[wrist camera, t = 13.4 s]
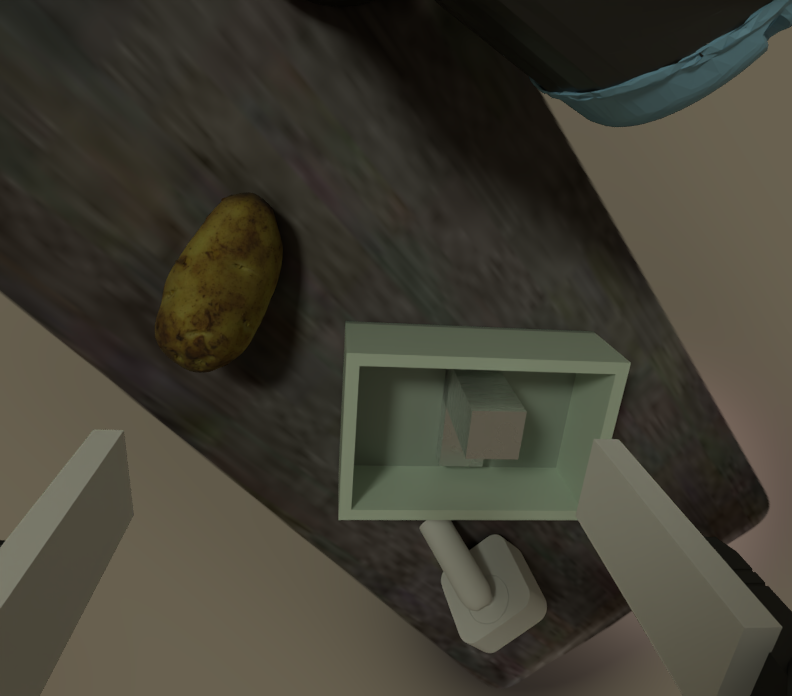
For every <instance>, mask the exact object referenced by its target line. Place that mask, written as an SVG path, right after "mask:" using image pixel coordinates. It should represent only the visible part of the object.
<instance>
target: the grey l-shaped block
mask: <svg viewBox="0 0 792 696" xmlns="http://www.w3.org/2000/svg"><path fill="white" fill-rule="evenodd" d="M526 414H527V411H526V410H525V408H524V407H523V405H522V404H521V402H520V401H519V399H518V397H517V396H516V394H515V393H514V391H513V390H512V388H511V386H510V385H509V383H508V382H507V380H506V379H505V377H504V376H503V374H502V372H501V371H500V370H470V369H446V372H445V380H444V388H443V397H442V405H441V414H440V422H439V431H438V439H437V448H436V457H437V460H438V464H439V466H465V467H482V465H483V459H517V460H518V458H519V452H520V447H521V441H522V436H523V430H524V425H525V419H526Z"/></svg>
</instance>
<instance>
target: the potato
mask: <svg viewBox="0 0 792 696" xmlns="http://www.w3.org/2000/svg"><path fill="white" fill-rule="evenodd" d="M282 256H283V246H282V240H281V237H280V233H279V230H278V226H277V222H276V218H275V215H274V212H273V210H272V208H271V207H270V205H269V204H268V203H267V202H265V200H264V199H262V198H260V197H259V196H258V195H256V194H254V193H239V194H236V195H230V196H228V197H226V198H223V199H222V202H221V203H220V204H219V205H218V206H217V207H216V208H215V209H214V210H213V211H212V212H211V213H210V214H209V215H208V217H207V218H206V220H205V222H204V223H203V225H202V226H201V227H200V229H199V230H198V231H197V233H196V234H195V236H194V237H193V238H192V239H191V241H190V242H189V244H188V245H187V246H186V248H185V249H184V251H183V252H182V254H181V256H180V257H179V259H178V260H177V261H176V263H175V265H174V266H173V268H172V269H171V271H170V273H169V275H168V277H167V280H166V283H165V286H164V291H163V297H162V303H161V306H160V309H159V312H158V315H157V318H156V323H155V339H156V340H157V342H158V345H159V346H160V348H161V350H162V351H163V352H164V353H165V354H166V355H167V356H168V357H169V358H170V359H171V360H172V361H174V362H175V363H177V364H178V365H180V366H181V367H183V368H184V369H187V370H189V371H193V372H210V371H213V370H215V369H217V368H220V367H223V366H226V365H228V363H230V362H231V361H232V360H234V359H235V358H237V357H238V356H239V355H240V354H242V353H243V352H244V350H245V349H246V348H247V347H248V345H249V344H250V342H251V340H252V338H253V336H254V335H255V333H256V331H257V329H258V327H259V325H260V324H261V322H262V320H263V318H264V315H265V313H266V310H267V307H268V305H269V302H270V299H271V297H272V295H273V293H274V291H275V288H276V285H277V282H278V278H279V274H280V270H281V265H282Z"/></svg>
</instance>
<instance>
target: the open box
mask: <svg viewBox="0 0 792 696" xmlns="http://www.w3.org/2000/svg"><path fill="white" fill-rule="evenodd" d="M630 364H631V363H630V362H629V361H628V360H627V359H626V358H624V357H623V356H622V355H621V354H620V353H618V352H617V351H616V350H615V349H614V348H612V347H611V346H610V345H609V344H608V343H606V342H605V341H604V340H603V339H602V338H600V337H599V336H598V335H597V334H596V333H594V332H592V331H568V330H544V329H520V328H496V327H472V326H448V325H424V324H400V323H376V322H352V321H346V322H345V343H344V365H343V387H342V409H341V430H340V452H339V520H578V519H577V517H576V512H577V507H578V503H579V499H580V495H581V491H582V486H583V482H584V478H585V474H586V470H587V465H588V461H589V457H590V453H591V449H592V444H593V440H594V439H612V436H613V432H614V428H615V424H616V420H617V416H618V412H619V408H620V404H621V400H622V396H623V392H624V388H625V384H626V380H627V376H628V372H629V368H630ZM446 369H470V370H500V371H501V372H502V374H503V376H504V377H505V379H506V380H507V382H508V383H509V385H510V386H511V388H512V390H513V391H514V393H515V394H516V396H517V397H518V399H519V401H520V402H521V404H522V405H523V407H524V408H525V410H526V411H527V414H526V419H525V425H524V430H523V436H522V441H521V447H520V452H519V458H518V460H517V459H483V465H482V467H465V466H439V464H438V460H437V457H436V448H437V439H438V431H439V422H440V414H441V405H442V397H443V388H444V380H445V372H446Z"/></svg>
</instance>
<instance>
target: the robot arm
mask: <svg viewBox="0 0 792 696" xmlns="http://www.w3.org/2000/svg"><path fill="white" fill-rule="evenodd" d="M307 1H310V2H313V3H317V4H321V5H327V6H338V7H343V6H355V5H361V4H365V3H368V2H372V1H374V0H307ZM435 1H436V2H437V3H438V4H440V5H441V6H442V7H443V8H445V9H446V10H447V11H448V12H450V13H451V14H452V15H453V16H454V17H456V18H457V19H458V20H459V21H461V22H462V23H463V24H464V25H466V26H467V27H468V28H469V29H471V30H472V31H473V32H474V33H476V34H477V35H478V36H479V37H481V38H482V39H483V40H484V41H486V42H487V43H488V44H489V45H491V46H492V47H493V48H494V49H496V50H497V51H498V52H499V53H501V54H502V55H503V56H504V57H506V58H507V59H508V60H509V61H511V62H512V63H513V64H514V65H516V66H517V67H518V68H519V69H521V70H522V71H523V72H524V73H526V74H527V75H528V76H529V78H530V80H531V82H532V83H533V85H534V86H535V87H536V88H537V89H539V90H540V91H541V92H542V93H544V94H548V95H549V96H550V97H552V98H556V99H560V100H562V101H563V102H564V103H566V104H567V105H568V106H570V107H571V108H573V109H574V110H575V111H577V112H578V113H580V114H581V115H583V116H584V117H585V118H587V119H588V120H590V121H592V122H595V123H598V124H602V125H605V126H611V127H627V126H634V125H640V124H645V123H648V122H651V121H655V120H657V119H661V118H664V117H666V116H668V115H671V114H673V113H675V112H677V111H680V110H682V109H684V108H685V107H688V106H690V105H691V104H693V103H695V102H697V101H699V100H700V99H702V98H704V97H706V96H707V95H709V94H710V93H712V92H714V91H715V90H716V89H718V88H720V87H721V86H723V85H724V84H726V83H727V82H728V81H730V80H731V79H733V78H734V77H736V76H737V75H738V74H740V73H741V72H742V71H743V70H745V69H746V68H747V67H748V66H750V65H751V64H752V63H753V62H754V61H755V60H756V59H758V58H759V57H760V56H761V55H762V54H764V53H765V52H766V51H767V49H768V42H767V41H768V39H769V38H770V37H771V36H773V35H775V34H776V33H778V32H779V31H782V30H784V29H787V28H789V27H791V26H792V0H435ZM133 515H134V513H133V505H132V497H131V488H130V479H129V470H128V462H127V453H126V445H125V436H124V430H93V431H92V432H91V433H90V435H89V436H88V437H87V438H86V440H85V441H84V442H83V443H82V445H81V446H80V447H79V449H78V450H77V451H76V452H75V454H74V455H73V456H72V457H71V459H70V460H69V461H68V462H67V464H66V465H65V466H64V468H63V469H62V470H61V471H60V473H59V474H58V475H57V476H56V478H55V479H54V480H53V481H52V483H51V484H50V485H49V486H48V488H47V489H46V490H45V491H44V493H43V494H42V495H41V497H40V498H39V499H38V500H37V502H36V503H35V504H34V505H33V507H32V508H31V509H30V510H29V512H28V513H27V514H26V515H25V517H24V518H23V520H22V521H21V522H20V523H19V524H18V526H17V527H16V528H15V529H14V531H13V532H12V533H11V534H10V536H9V537H8V538H7V540H5V541H4V540H3V541H2V540H0V696H40V694H41V692H42V691H43V689H44V687H45V685H46V683H47V681H48V679H49V677H50V675H51V673H52V671H53V669H54V667H55V665H56V664H57V662H58V660H59V658H60V656H61V654H62V652H63V650H64V648H65V646H66V644H67V642H68V640H69V638H70V637H71V635H72V633H73V631H74V629H75V627H76V625H77V623H78V621H79V619H80V617H81V615H82V614H83V612H84V609H85V608H86V606H87V604H88V602H89V600H90V598H91V596H92V594H93V592H94V590H95V588H96V586H97V584H98V583H99V581H100V579H101V577H102V575H103V573H104V571H105V569H106V567H107V565H108V563H109V561H110V559H111V558H112V556H113V554H114V552H115V550H116V548H117V546H118V544H119V542H120V540H121V538H122V537H123V535H124V533H125V531H126V529H127V527H128V525H129V523H130V521H131V519H132V517H133ZM576 517H577V519H578V521H579V522H580V524H581V526H582V528H583V529H584V531H585V533H586V534H587V536H588V538H589V539H590V541H591V543H592V544H593V546H594V548H595V549H596V551H597V553H598V554H599V556H600V558H601V559H602V561H603V563H604V564H605V566H606V568H607V569H608V571H609V573H610V575H611V576H612V578H613V580H614V581H615V583H616V585H617V586H618V588H619V590H620V591H621V593H622V595H623V596H624V598H625V600H626V601H627V603H628V605H629V606H630V608H631V610H632V611H633V613H634V615H635V616H636V618H637V620H638V621H639V623H640V625H641V626H642V628H643V630H644V632H645V633H646V635H647V637H648V638H649V640H650V642H651V643H652V645H653V647H654V648H655V650H656V652H657V653H658V655H659V657H660V658H661V660H662V662H663V663H664V665H665V667H666V668H667V670H668V672H669V674H670V675H671V677H672V678H673V680H674V682H675V683H676V685H677V687H678V689H679V690H680V692H681V693H682V695H683V696H792V611H791V610H790V609H789V608H788V607H787V606H786V605H785V604H784V603H783V602H782V601H781V600H780V598H779V597H778V596H777V595H776V594H775V593H774V592H773V591H772V590H771V589H770V588H769V587H768V586H765V582H764V581H763V580H762V579H761V578H760V577H759V576H758V574H757V573H756V572H753V571H752V568H751V567H750V566H749V565H748V564H747V563H746V561H745V560H744V559H743V558H742V557H741V556H740V555H739V554H738V553H737V552H736V551H735V550H733V549H732V548H730V547H729V546H728V545H726V544H725V543H723V542H722V541H720V540H719V539H717V538H716V537H703V536H702V534H701V533H700V532H699V531H698V530H697V529H696V528H695V526H694V525H693V524H692V523H691V522H690V521H689V520H688V518H687V517H686V516H685V515H684V514H683V513H682V511H681V510H680V509H679V508H678V507H677V506H676V505H675V503H674V502H673V501H672V500H671V499H670V498H669V497H668V495H667V494H666V493H665V492H664V491H663V490H662V489H661V487H660V486H659V485H658V484H657V483H656V482H655V481H654V479H653V478H652V477H651V476H650V475H649V474H648V473H647V471H646V470H645V469H644V468H643V467H642V466H641V465H640V463H639V462H638V461H637V460H636V459H635V458H634V456H633V455H632V454H631V453H630V452H629V451H628V450H627V448H626V447H625V446H624V445H623V444H622V443H621V442H620V440H619V439H594V440H593V444H592V449H591V453H590V457H589V461H588V465H587V470H586V474H585V478H584V482H583V486H582V491H581V495H580V499H579V503H578V507H577V512H576Z"/></svg>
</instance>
